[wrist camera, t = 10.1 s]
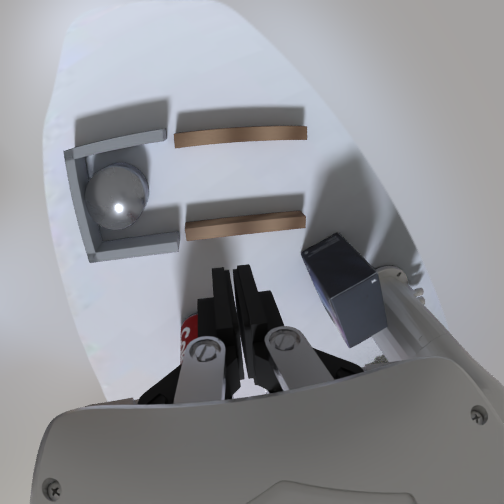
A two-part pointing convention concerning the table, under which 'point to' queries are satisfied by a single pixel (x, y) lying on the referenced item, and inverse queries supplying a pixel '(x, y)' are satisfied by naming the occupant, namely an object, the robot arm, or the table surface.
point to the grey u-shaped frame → (90, 228)
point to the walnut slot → (250, 222)
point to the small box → (347, 288)
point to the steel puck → (116, 196)
